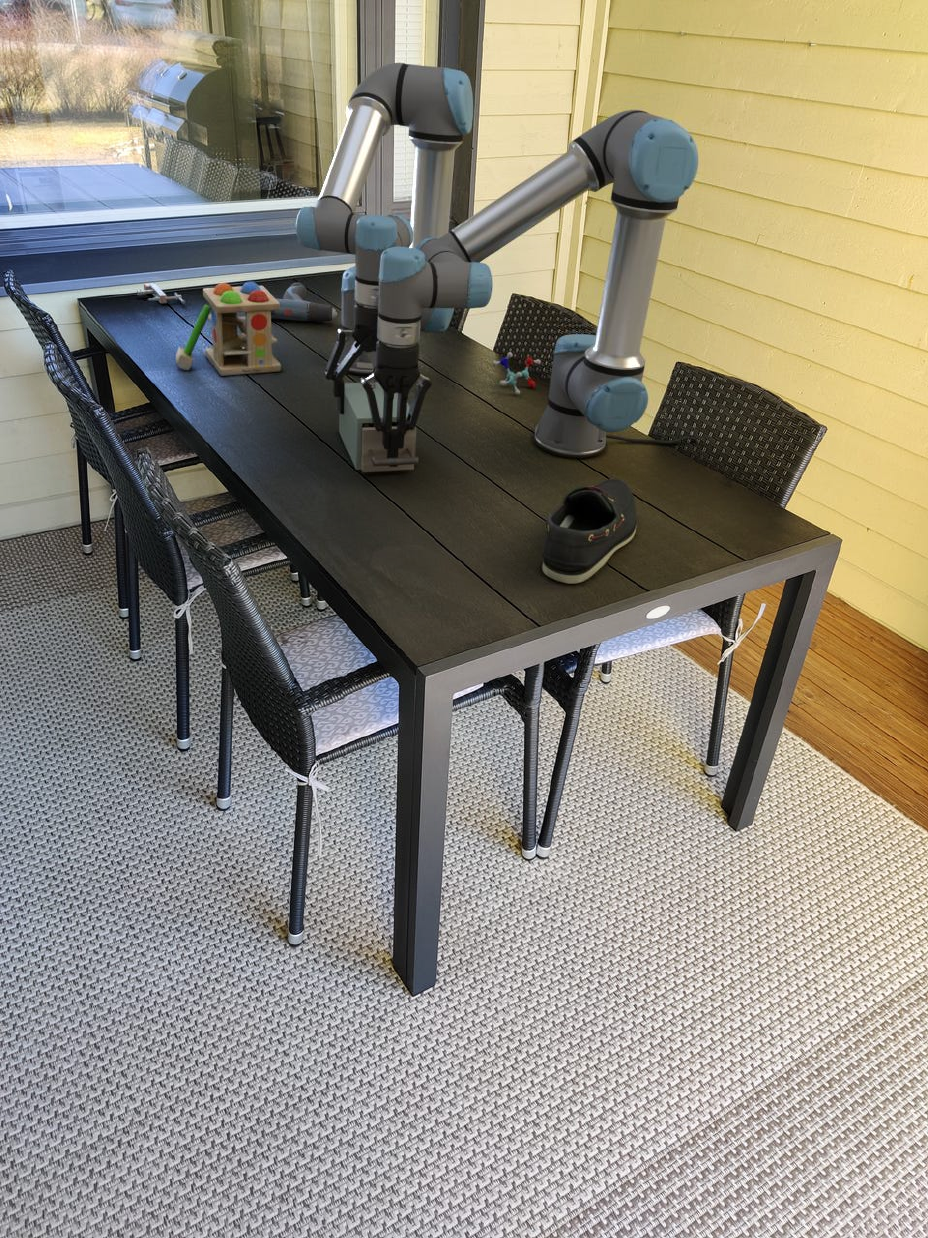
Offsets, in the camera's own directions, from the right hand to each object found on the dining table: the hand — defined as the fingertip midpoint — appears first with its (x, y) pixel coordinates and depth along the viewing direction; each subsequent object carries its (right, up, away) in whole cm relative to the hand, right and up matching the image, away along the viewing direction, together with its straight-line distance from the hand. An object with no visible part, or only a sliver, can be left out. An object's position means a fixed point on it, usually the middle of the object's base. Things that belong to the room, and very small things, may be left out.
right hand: (392, 463), depth 185 cm
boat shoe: (+36, -16, -10) cm, 40 cm away
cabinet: (-5, +5, +14) cm, 15 cm away
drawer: (-2, +2, +8) cm, 9 cm away
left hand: (-6, +13, +14) cm, 20 cm away
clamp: (-69, +57, +81) cm, 121 cm away
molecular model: (+25, +26, +48) cm, 60 cm away
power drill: (-30, +54, +82) cm, 102 cm away
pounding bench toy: (-43, +30, +45) cm, 69 cm away
